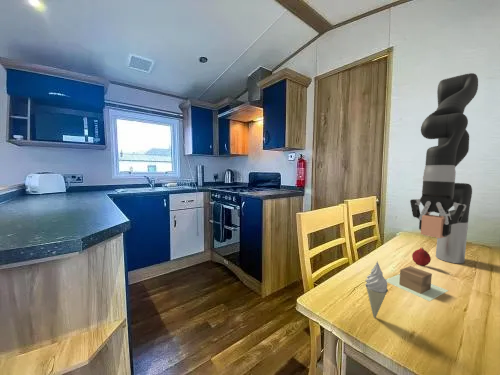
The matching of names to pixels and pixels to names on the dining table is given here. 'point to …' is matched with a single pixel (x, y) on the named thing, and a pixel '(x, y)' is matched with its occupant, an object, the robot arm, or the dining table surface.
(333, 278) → the dining table surface
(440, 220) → the terracotta block
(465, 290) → the dining table surface
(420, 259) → the red oval piece
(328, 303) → the dining table surface
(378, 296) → the ice cream cone
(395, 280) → the sage board
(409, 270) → the walnut block
